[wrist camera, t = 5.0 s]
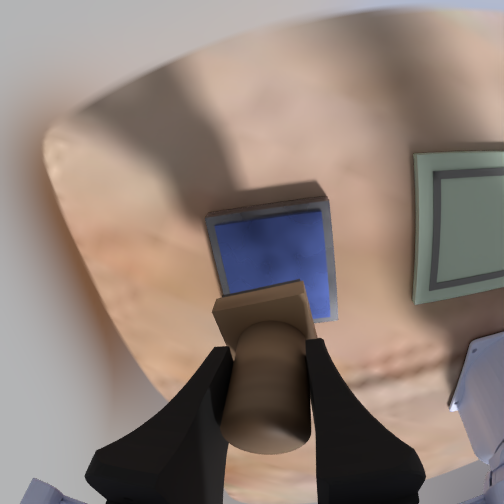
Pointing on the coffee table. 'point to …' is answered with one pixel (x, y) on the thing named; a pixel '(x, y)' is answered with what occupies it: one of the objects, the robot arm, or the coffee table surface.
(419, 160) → the board
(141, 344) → the coffee table surface
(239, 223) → the ink pad
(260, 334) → the stamp
